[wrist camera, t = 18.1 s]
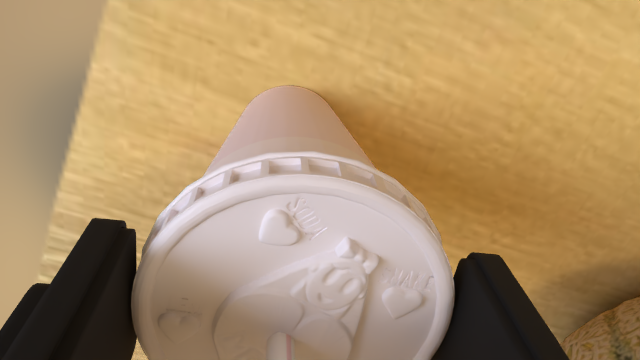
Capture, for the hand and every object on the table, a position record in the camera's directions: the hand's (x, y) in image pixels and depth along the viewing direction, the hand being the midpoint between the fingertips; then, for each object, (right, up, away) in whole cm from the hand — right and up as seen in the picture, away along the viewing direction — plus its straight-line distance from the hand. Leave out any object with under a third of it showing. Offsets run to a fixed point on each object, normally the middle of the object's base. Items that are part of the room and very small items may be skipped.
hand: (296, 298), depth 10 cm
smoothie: (-1, +4, +8) cm, 9 cm away
